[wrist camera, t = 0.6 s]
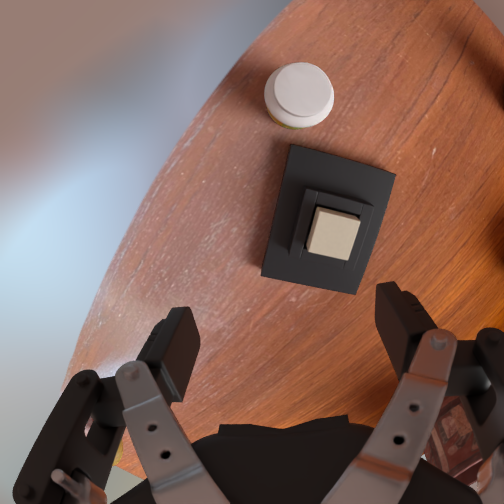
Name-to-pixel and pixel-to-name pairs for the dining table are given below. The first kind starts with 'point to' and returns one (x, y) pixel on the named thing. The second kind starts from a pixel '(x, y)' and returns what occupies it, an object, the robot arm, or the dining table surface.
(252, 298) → the dining table surface
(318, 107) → the supplement bottle
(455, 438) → the pottery
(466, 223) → the dining table surface
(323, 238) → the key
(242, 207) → the dining table surface
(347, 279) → the light switch
